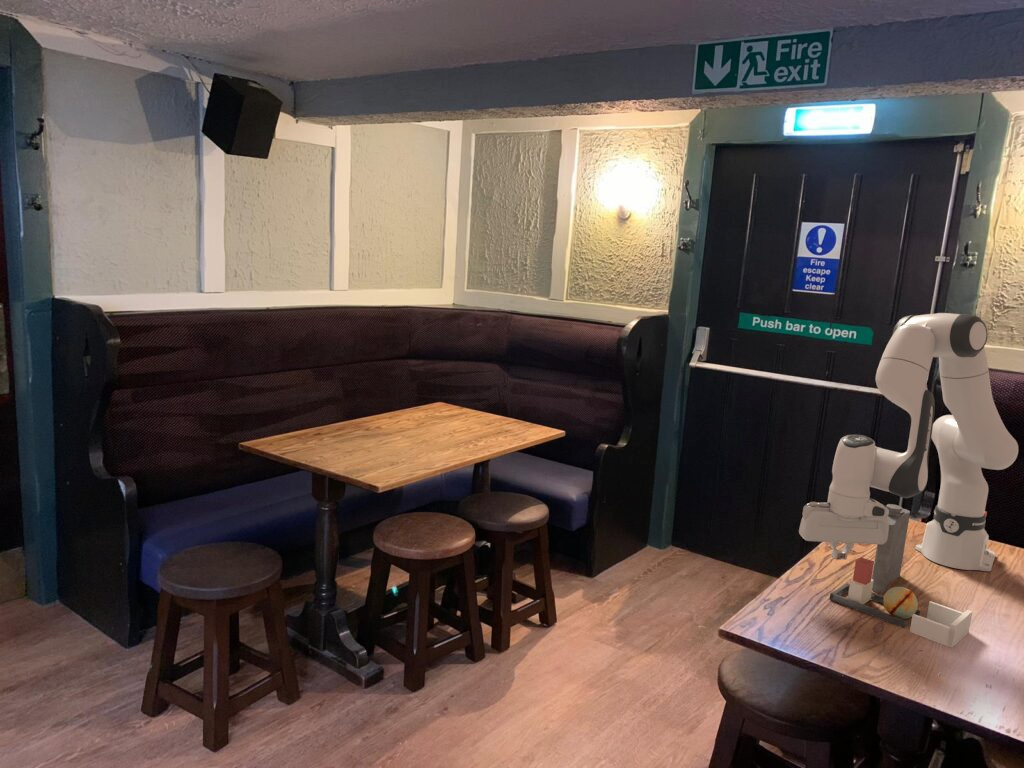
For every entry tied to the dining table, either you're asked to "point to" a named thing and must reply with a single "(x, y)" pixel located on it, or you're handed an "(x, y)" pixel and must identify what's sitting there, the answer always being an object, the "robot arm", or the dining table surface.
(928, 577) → the dining table surface
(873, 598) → the dark grey rectangular frame
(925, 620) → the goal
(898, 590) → the ball
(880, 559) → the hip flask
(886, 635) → the dining table surface
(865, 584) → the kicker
